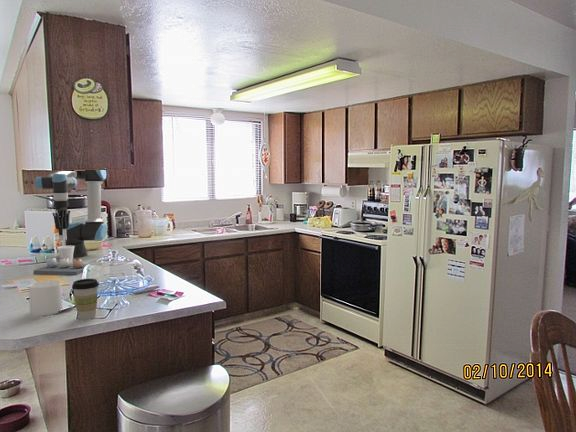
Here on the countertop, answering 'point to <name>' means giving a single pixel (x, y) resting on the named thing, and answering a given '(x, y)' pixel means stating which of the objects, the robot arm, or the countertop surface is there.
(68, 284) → the countertop surface
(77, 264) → the button three
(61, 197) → the robot arm
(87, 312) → the coffee cup
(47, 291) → the cup
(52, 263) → the button one
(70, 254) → the cup
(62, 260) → the button two
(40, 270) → the console
